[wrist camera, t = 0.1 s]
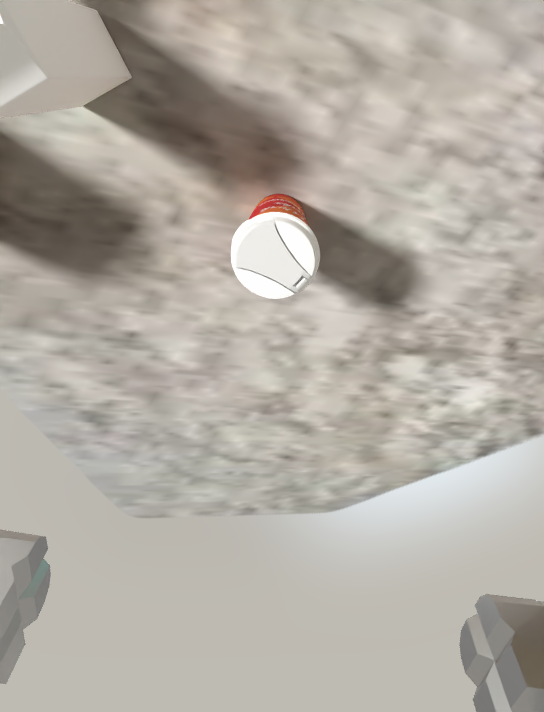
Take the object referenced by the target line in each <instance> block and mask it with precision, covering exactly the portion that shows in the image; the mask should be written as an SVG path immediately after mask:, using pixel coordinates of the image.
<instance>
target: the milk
mask: <svg viewBox="0 0 544 712" xmlns="http://www.w3.org/2000/svg"><path fill="white" fill-rule="evenodd" d="M131 78H132V76H131V74H130V72H129V71H128V69H127V67H126V65H125V63H124V61H123V59H122V57H121V55H120V53H119V51H118V50H117V48H116V46H115V44H114V42H113V40H112V38H111V36H110V34H109V32H108V30H107V29H106V27H105V25H104V23H103V21H102V19H101V17H100V15H99V13H98V11H97V10H95V9H92V8H89V7H86V6H83V5H80V4H77V3H74V2H71V1H68V0H0V118H6V117H13V116H20V115H27V114H33V113H40V112H47V111H54V110H61V109H68V108H75V107H82V106H84V105H86V104H87V103H89V102H91V101H92V100H94V99H96V98H98V97H99V96H101V95H103V94H105V93H106V92H108V91H110V90H112V89H113V88H115V87H117V86H118V85H120V84H122V83H124V82H125V81H127V80H129V79H131Z"/></svg>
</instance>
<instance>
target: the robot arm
mask: <svg viewBox="0 0 544 712" xmlns="http://www.w3.org/2000/svg"><path fill="white" fill-rule="evenodd" d="M47 549H48V546H47V541H46V537H45V536H38V535H32V534H25V533H19V532H12V531H6V530H0V683H3V684H6V683H7V681H8V679H9V677H10V675H11V672H12V670H13V668H14V666H15V664H16V662H17V660H18V658H19V656H20V653H21V652H22V649H23V647H24V645H25V640H24V634H23V629H24V628H26V627H27V626H28V625H30V624H31V623H32V622H33V621H35V620H36V619H37V618H38V616H39V613H40V611H41V609H42V607H43V604H44V602H45V598H46V595H47V592H48V588H49V583H50V565H49V564H48V563H47V562H46V561H45V560H44V559H43V558H44V556H45V554H46V552H47ZM475 607H476V609H477V612H478V614H476V615H474V616H472V617H470V618H468V619H467V620H466V622H465V624H464V626H463V628H462V630H461V637H460V652H461V659H462V662H463V666H464V670H465V673H466V674H467V675H468V677H469V678H470V679H471V680H472V681H473V682H474V684H475V685H476V686H477V690H476V692H475V695H474V698H473V701H474V705H475V708H476V711H477V712H544V602H541V601H536V600H532V599H523V598H515V597H507V596H498V595H489V594H486V595H483V596H481V597H480V598H479V600H478V601H477V603H476V604H475Z"/></svg>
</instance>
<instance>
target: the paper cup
mask: <svg viewBox="0 0 544 712" xmlns="http://www.w3.org/2000/svg"><path fill="white" fill-rule="evenodd" d="M231 262H232V266H233V269H234V272H235V274H236V276H237V278H238V279H239V281H240V282H241V283H242V284H243V285H244V286H245V287H246V288H247V289H248V290H250V291H251V292H253V293H255V294H257V295H259V296H261V297H265V298H270V299H281V298H286V297H290V296H293V295H295V294H297V293H299V292H300V291H302V290H303V289H304V288H306V287H307V286H308V285H309V284H310V282H311V281H312V280H313V278H314V277H315V275H316V273H317V270H318V267H319V263H320V249H319V244H318V241H317V239H316V237H315V234H314V233H313V231H312V230H311V229H310V227H309V226H308V223H307V220H306V217H305V214H304V212H303V210H302V208H301V206H300V205H299V203H298V202H297V201H296V200H295V199H293V198H292V197H290V196H287V195H284V194H273V195H270V196H268V197H266V198H264V199H263V200H262V201H261V202H260V203H259V204H258V205H257V206H256V208H255V209H254V211H253V213H252V214H251V216H250V218H249V220H247V221H245V222H244V223H243V224H242V225H241V226H240V227H239V228H238V230H237V231H236V232H235V234H234V237H233V239H232V248H231Z"/></svg>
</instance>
